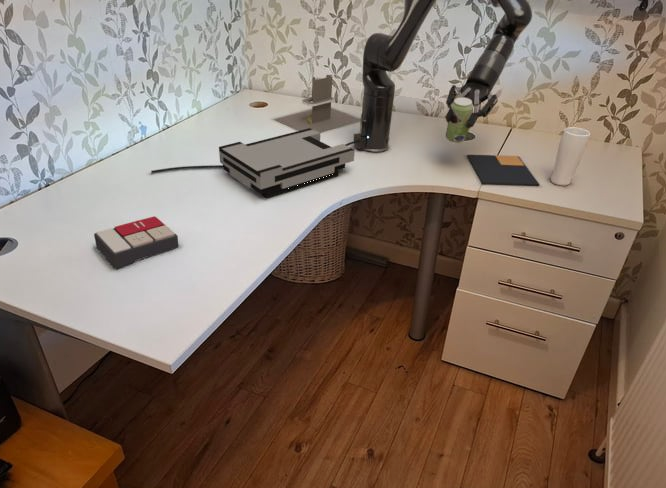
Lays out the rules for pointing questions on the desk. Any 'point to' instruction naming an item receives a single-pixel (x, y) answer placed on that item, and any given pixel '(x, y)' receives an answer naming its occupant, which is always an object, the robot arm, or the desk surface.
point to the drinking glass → (569, 154)
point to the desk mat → (502, 170)
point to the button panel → (135, 241)
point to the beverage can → (459, 119)
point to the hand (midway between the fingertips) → (457, 123)
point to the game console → (284, 162)
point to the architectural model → (319, 110)
